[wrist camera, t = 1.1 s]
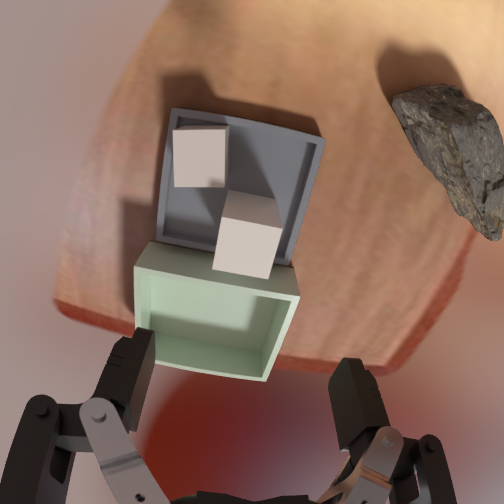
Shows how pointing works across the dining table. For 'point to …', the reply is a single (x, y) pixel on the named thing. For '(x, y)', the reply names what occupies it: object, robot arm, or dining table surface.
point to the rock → (458, 151)
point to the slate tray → (240, 180)
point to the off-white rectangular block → (248, 235)
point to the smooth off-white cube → (201, 155)
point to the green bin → (212, 312)
